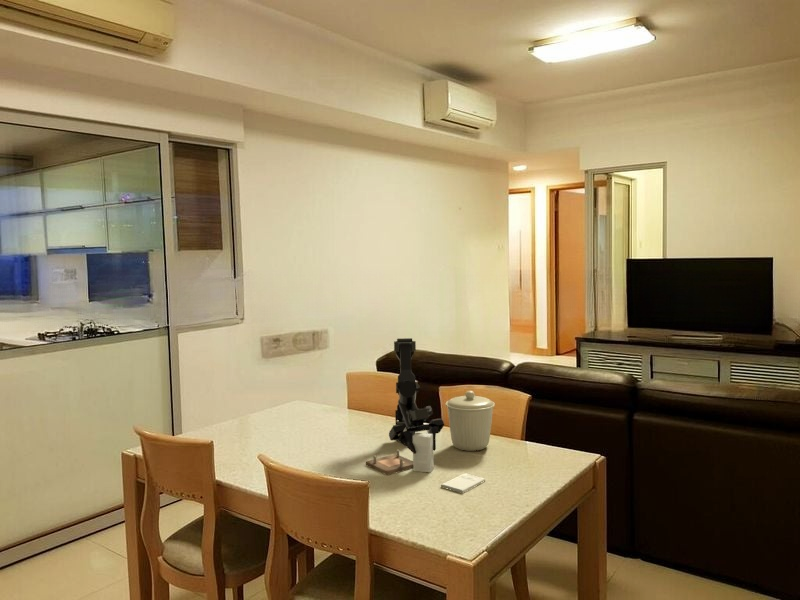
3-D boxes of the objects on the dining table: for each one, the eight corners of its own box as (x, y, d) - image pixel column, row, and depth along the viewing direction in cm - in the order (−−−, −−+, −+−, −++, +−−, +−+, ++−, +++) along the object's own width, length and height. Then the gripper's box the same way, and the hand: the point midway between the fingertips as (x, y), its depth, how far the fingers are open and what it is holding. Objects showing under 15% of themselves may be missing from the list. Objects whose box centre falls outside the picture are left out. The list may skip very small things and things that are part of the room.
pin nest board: (395, 457, 216) (395, 446, 216) (417, 466, 206) (417, 455, 206) (365, 464, 209) (365, 454, 208) (387, 475, 199) (387, 464, 198)
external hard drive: (440, 489, 188) (463, 477, 197) (462, 495, 182) (485, 483, 192) (440, 483, 188) (463, 472, 197) (462, 490, 182) (485, 478, 192)
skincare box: (433, 468, 204) (433, 433, 203) (430, 473, 200) (429, 437, 199) (416, 466, 206) (416, 432, 205) (412, 471, 202) (412, 435, 201)
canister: (458, 457, 215) (457, 398, 213) (438, 442, 232) (437, 388, 230) (503, 451, 221) (503, 393, 219) (481, 437, 238) (481, 384, 236)
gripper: (391, 401, 201) (406, 443, 192) (441, 395, 209) (458, 435, 200) (382, 419, 209) (396, 460, 199) (430, 412, 216) (446, 452, 207)
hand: (425, 451), depth 201 cm, fingers closed on skincare box, 7 cm apart
